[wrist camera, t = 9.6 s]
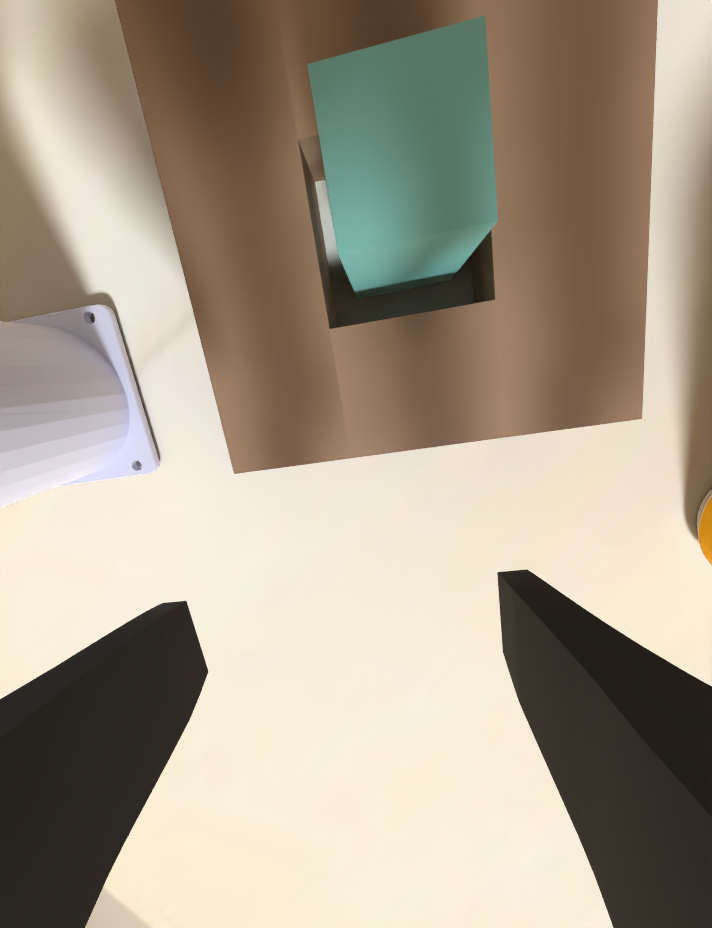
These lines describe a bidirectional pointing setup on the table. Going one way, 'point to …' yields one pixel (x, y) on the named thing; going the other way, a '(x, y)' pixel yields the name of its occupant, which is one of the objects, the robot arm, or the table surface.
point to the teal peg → (408, 155)
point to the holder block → (493, 261)
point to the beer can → (705, 526)
